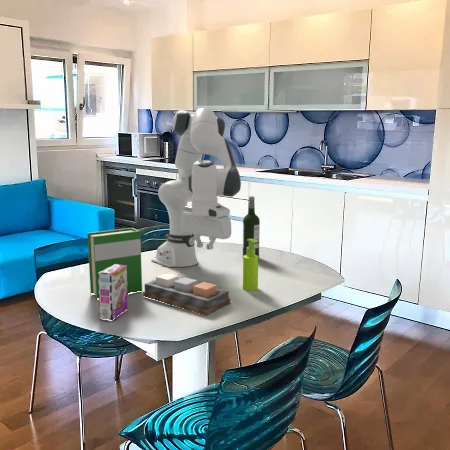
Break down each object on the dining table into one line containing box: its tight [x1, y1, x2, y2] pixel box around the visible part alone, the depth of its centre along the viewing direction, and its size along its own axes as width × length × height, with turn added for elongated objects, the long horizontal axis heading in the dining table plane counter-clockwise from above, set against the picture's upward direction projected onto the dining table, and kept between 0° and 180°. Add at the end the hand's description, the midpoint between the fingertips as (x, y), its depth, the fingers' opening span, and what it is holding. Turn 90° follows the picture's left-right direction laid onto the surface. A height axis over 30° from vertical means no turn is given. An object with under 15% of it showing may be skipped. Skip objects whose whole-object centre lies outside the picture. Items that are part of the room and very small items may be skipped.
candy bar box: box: [98, 264, 129, 320], centre depth 162 cm, size 11×5×16 cm, turn 163°
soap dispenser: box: [242, 239, 259, 292], centre depth 189 cm, size 6×7×20 cm
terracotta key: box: [193, 281, 218, 298], centre depth 172 cm, size 6×6×4 cm
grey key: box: [174, 277, 198, 293], centre depth 177 cm, size 6×6×4 cm
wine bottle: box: [242, 195, 261, 260], centre depth 232 cm, size 8×8×30 cm
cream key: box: [155, 272, 180, 288], centre depth 182 cm, size 6×6×4 cm
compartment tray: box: [142, 279, 231, 316], centre depth 178 cm, size 30×14×5 cm, turn 54°
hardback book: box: [86, 227, 143, 298], centre depth 183 cm, size 18×7×24 cm, turn 123°
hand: (204, 248), depth 169 cm, fingers open, 3 cm apart
